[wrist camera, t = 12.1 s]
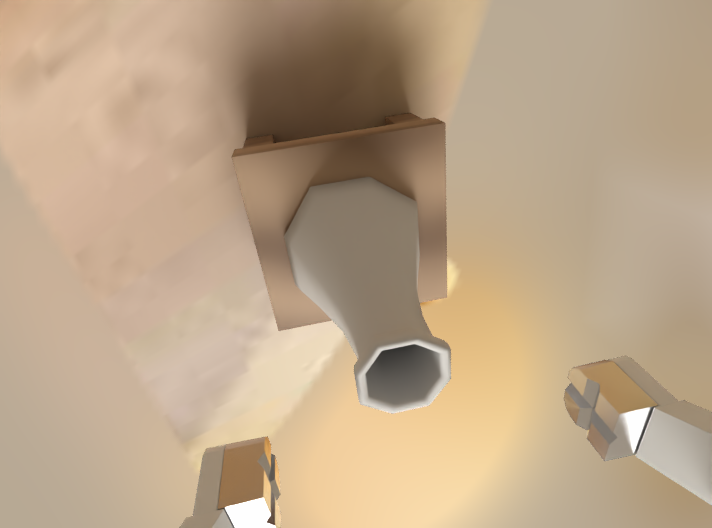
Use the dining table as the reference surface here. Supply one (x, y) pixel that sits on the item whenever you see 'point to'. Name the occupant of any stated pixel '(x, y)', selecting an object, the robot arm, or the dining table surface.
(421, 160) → the walnut stand
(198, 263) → the dining table surface
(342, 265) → the flask
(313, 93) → the dining table surface
